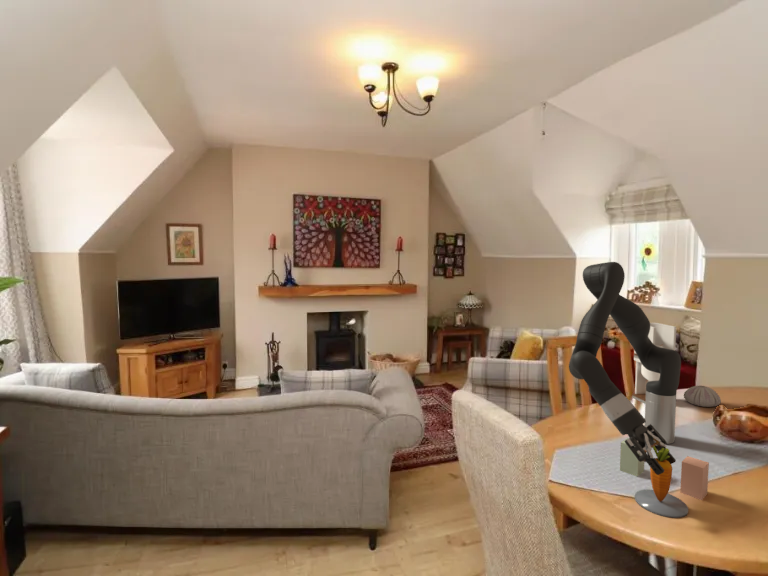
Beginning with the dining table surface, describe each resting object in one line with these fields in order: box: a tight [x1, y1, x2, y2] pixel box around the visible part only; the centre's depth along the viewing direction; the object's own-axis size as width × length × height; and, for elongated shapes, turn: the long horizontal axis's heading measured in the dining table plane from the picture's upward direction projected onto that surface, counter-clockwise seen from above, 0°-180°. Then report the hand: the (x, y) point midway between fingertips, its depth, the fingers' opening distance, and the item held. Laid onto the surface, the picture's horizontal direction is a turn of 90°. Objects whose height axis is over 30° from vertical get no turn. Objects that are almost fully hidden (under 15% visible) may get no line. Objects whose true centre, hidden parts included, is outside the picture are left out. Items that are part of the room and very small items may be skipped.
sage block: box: [619, 437, 645, 477], centre depth 131 cm, size 5×5×9 cm
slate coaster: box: [634, 489, 689, 519], centre depth 114 cm, size 12×12×1 cm
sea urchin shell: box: [683, 385, 722, 408], centre depth 189 cm, size 13×14×8 cm
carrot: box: [649, 446, 673, 502], centre depth 113 cm, size 5×5×15 cm
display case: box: [632, 322, 677, 405], centre depth 191 cm, size 11×11×35 cm
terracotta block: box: [679, 455, 710, 501], centre depth 118 cm, size 5×5×9 cm
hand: (667, 468), depth 112 cm, fingers open, 8 cm apart
